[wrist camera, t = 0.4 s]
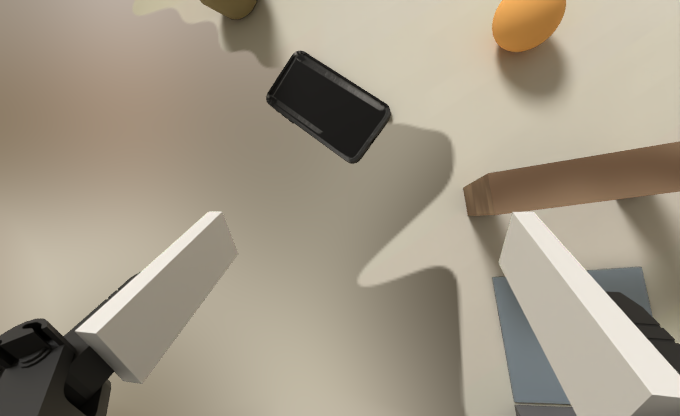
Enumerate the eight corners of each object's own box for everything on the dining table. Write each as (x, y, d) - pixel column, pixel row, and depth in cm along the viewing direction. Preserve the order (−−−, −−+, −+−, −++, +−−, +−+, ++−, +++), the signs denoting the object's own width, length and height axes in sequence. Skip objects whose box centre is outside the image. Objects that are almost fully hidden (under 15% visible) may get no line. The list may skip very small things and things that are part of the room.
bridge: (641, 193, 24) (780, 178, 15) (468, 215, 27) (495, 215, 18) (633, 161, 24) (766, 127, 15) (463, 187, 27) (487, 173, 19)
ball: (551, 54, 26) (587, 12, 21) (490, 70, 27) (509, 34, 22) (540, 2, 26) (573, -52, 21) (481, 21, 28) (497, -26, 22)
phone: (297, 47, 33) (394, 108, 29) (300, 52, 34) (395, 112, 30) (262, 100, 34) (352, 166, 30) (267, 104, 35) (354, 168, 31)
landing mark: (670, 406, 22) (672, 408, 22) (513, 400, 26) (514, 401, 25) (639, 266, 23) (641, 267, 23) (492, 277, 26) (492, 278, 26)
